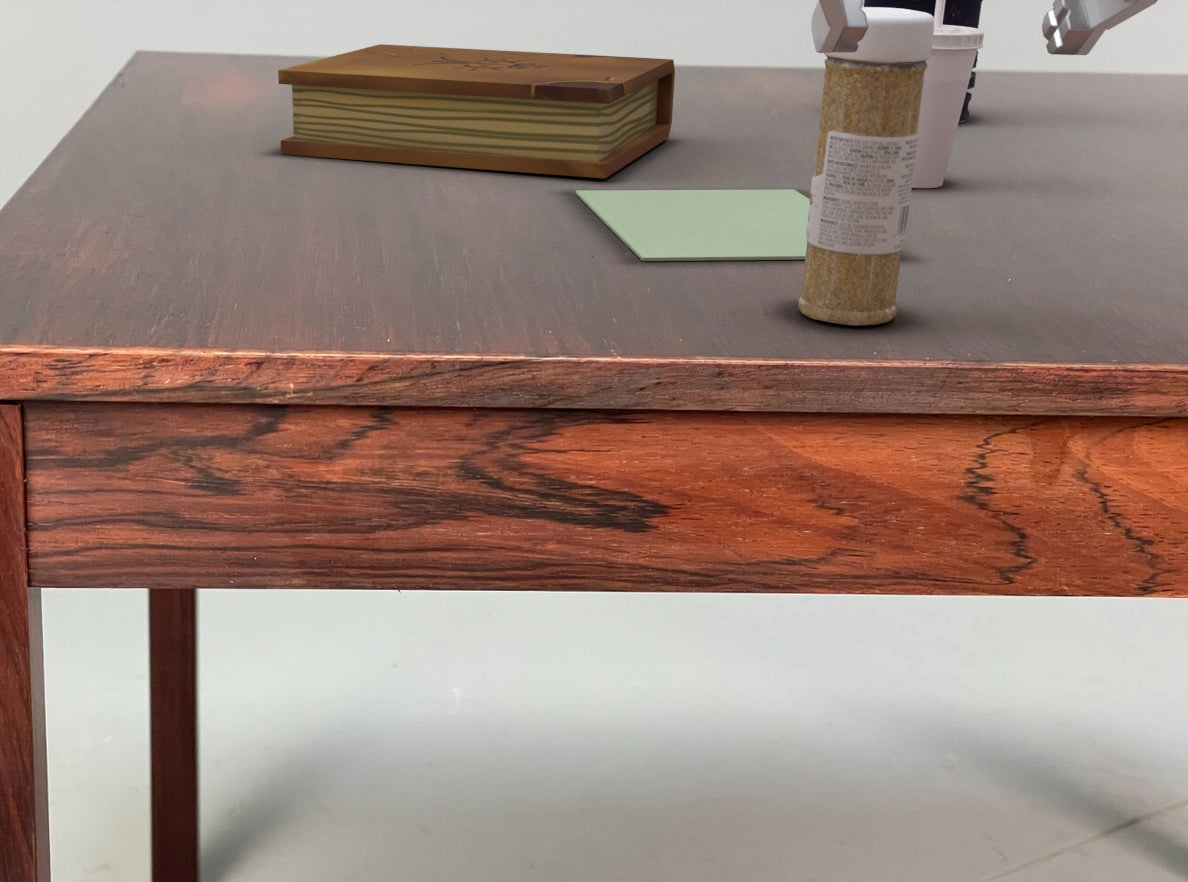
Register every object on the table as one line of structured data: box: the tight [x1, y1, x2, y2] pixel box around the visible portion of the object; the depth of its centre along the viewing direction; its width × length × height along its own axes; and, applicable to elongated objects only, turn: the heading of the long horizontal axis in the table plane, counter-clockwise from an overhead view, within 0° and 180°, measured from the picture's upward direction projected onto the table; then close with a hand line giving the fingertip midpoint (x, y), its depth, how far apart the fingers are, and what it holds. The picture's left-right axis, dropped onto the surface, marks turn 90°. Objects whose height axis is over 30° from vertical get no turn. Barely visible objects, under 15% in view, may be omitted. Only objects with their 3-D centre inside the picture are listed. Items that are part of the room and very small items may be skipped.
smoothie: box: [911, 0, 985, 189], centre depth 103 cm, size 6×6×14 cm
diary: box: [277, 43, 676, 179], centre depth 115 cm, size 23×19×6 cm
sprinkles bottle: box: [797, 6, 935, 327], centre depth 72 cm, size 5×5×13 cm
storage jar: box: [863, 0, 984, 124], centre depth 131 cm, size 10×10×15 cm
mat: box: [575, 189, 810, 262], centre depth 93 cm, size 18×14×1 cm
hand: (947, 40), depth 63 cm, fingers open, 8 cm apart
